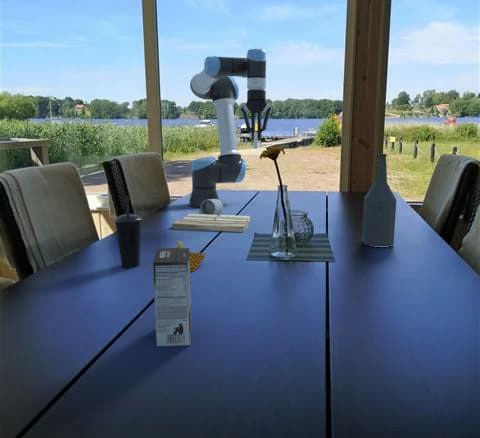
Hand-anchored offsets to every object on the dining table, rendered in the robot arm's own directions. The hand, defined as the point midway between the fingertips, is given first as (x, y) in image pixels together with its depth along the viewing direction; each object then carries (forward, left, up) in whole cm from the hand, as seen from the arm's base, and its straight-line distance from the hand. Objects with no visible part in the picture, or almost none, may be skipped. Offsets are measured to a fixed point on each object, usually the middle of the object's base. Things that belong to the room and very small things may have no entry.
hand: (256, 148), depth 188 cm
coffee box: (+112, +3, -30) cm, 116 cm away
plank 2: (+13, -7, -29) cm, 33 cm away
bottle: (+36, +47, -30) cm, 66 cm away
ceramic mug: (-1, -21, -30) cm, 36 cm away
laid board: (+22, -14, -29) cm, 40 cm away
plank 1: (+13, -21, -29) cm, 38 cm away
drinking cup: (+73, -24, -30) cm, 82 cm away
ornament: (+69, -9, -30) cm, 76 cm away
